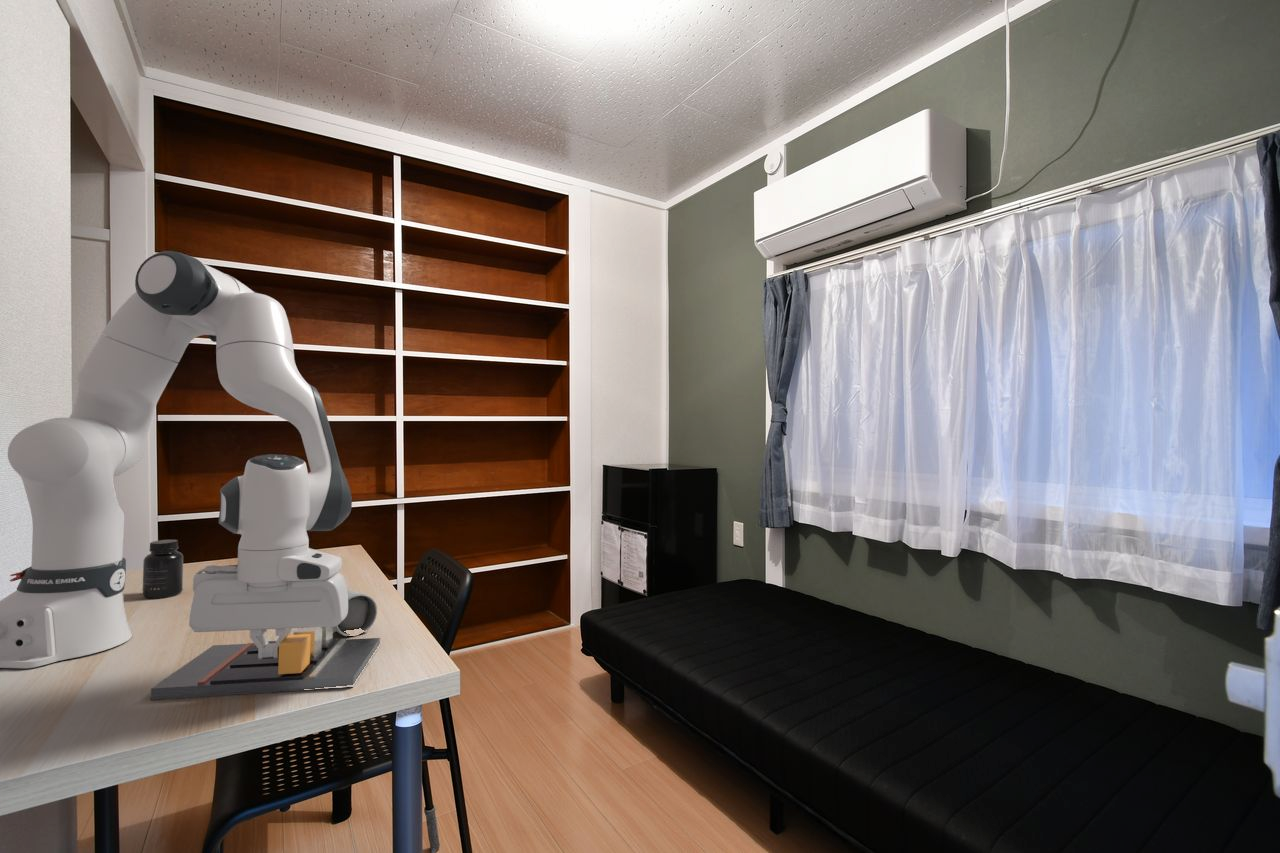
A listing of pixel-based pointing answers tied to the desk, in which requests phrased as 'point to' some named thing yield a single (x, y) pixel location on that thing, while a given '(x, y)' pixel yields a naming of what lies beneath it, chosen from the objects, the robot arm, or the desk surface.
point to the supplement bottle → (163, 570)
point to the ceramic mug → (358, 613)
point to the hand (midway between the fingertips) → (270, 657)
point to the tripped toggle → (294, 654)
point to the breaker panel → (268, 668)
